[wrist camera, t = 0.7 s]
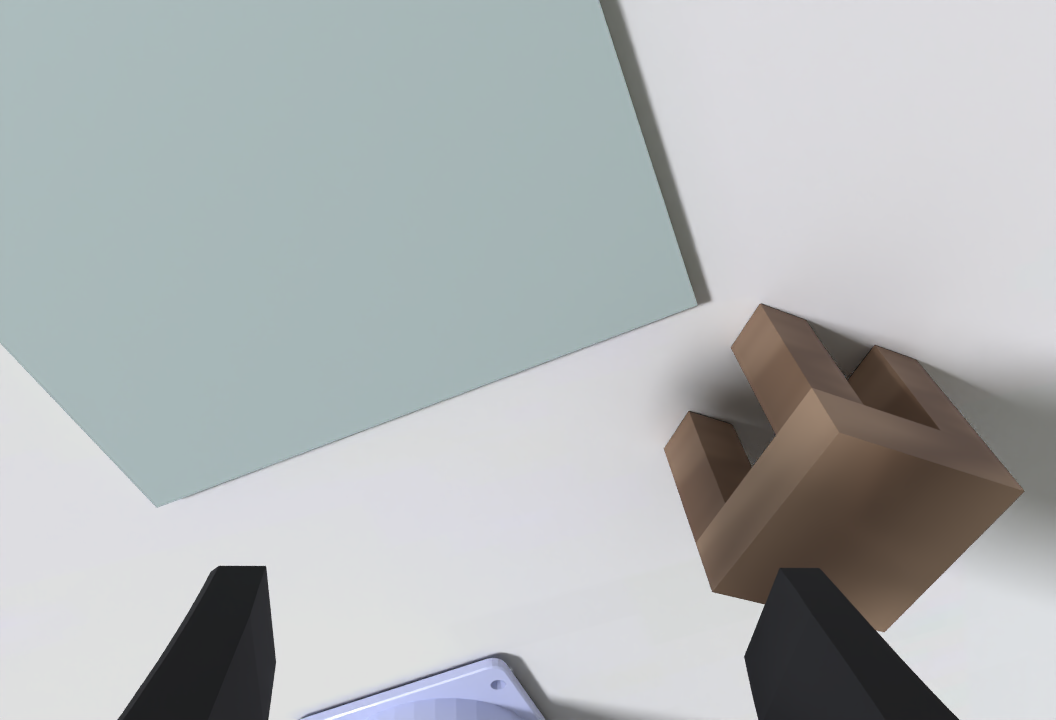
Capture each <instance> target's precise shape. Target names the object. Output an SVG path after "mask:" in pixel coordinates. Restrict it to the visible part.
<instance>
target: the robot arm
mask: <svg viewBox="0 0 1056 720" xmlns="http://www.w3.org/2000/svg"><path fill="white" fill-rule="evenodd" d="M744 658H745V663H746V667H747V672H748V677H749V681H750V686H751V691H752V695H753V700H754V704H755V708H756V712H757V716H758V720H959V719H958V718H957V717H956V716H955V715H954V714H953V713H952V712H951V711H950V710H949V709H948V708H947V707H946V706H945V705H944V704H943V703H942V702H941V700H940V699H939V698H938V697H937V696H936V695H935V694H934V693H933V692H932V691H931V690H930V689H929V688H928V687H927V686H926V685H925V684H924V683H923V682H922V680H921V679H920V678H919V677H918V676H917V675H916V674H915V673H914V672H913V671H912V670H911V669H910V668H909V667H908V665H907V664H906V663H905V662H904V661H903V660H902V659H901V658H900V657H899V656H898V655H897V653H896V652H895V651H894V650H893V649H892V648H891V647H890V646H889V645H888V644H887V642H886V641H885V640H884V639H883V638H882V637H881V636H880V635H879V634H878V632H877V631H876V630H875V629H874V628H873V627H872V626H871V625H870V624H869V622H868V621H867V620H866V619H865V618H864V617H863V616H862V615H861V613H860V612H859V611H858V610H857V609H856V608H855V607H854V606H853V604H852V603H851V602H850V601H849V600H848V599H847V598H846V597H845V595H844V594H843V593H842V592H841V591H840V590H839V589H838V588H837V587H836V585H835V584H834V583H833V582H832V581H831V580H830V579H829V578H828V577H827V576H826V574H825V573H824V572H823V571H822V570H821V569H820V568H779V570H778V573H777V575H776V578H775V580H774V583H773V586H772V588H771V591H770V593H769V596H768V598H767V601H766V603H765V606H764V608H763V611H762V613H761V616H760V618H759V621H758V623H757V626H756V628H755V631H754V633H753V636H752V638H751V641H750V643H749V646H748V648H747V651H746V654H745V656H744ZM275 665H276V658H275V648H274V638H273V629H272V619H271V609H270V599H269V590H268V580H267V570H266V566H218V567H217V568H215V569H214V570H213V571H211V572H210V574H209V576H208V578H207V580H206V582H205V584H204V586H203V587H202V589H201V591H200V593H199V595H198V596H197V598H196V600H195V602H194V603H193V605H192V607H191V609H190V610H189V612H188V614H187V615H186V617H185V619H184V620H183V622H182V624H181V625H180V627H179V628H178V630H177V632H176V633H175V635H174V636H173V638H172V640H171V641H170V643H169V644H168V646H167V647H166V649H165V651H164V652H163V654H162V655H161V657H160V658H159V660H158V662H157V663H156V665H155V666H154V667H153V669H152V670H151V672H150V673H149V675H148V676H147V678H146V679H145V681H144V682H143V684H142V685H141V686H140V688H139V689H138V691H137V692H136V694H135V695H134V697H133V698H132V700H131V701H130V703H129V704H128V706H127V707H126V708H125V710H124V711H123V713H122V714H121V716H120V717H119V718H118V720H268V717H269V710H270V703H271V696H272V688H273V681H274V673H275ZM299 720H545V718H544V717H543V715H542V714H541V713H540V711H539V710H538V708H537V707H536V705H535V704H534V703H533V701H532V700H531V698H530V697H529V695H528V694H527V693H526V691H525V690H524V688H523V687H522V686H521V684H520V683H519V681H518V680H517V678H516V677H515V676H514V674H513V673H512V671H511V670H510V668H509V667H508V666H507V664H506V663H505V662H504V661H503V660H501V659H498V658H488V659H485V660H481V661H478V662H475V663H472V664H469V665H466V666H463V667H460V668H457V669H454V670H451V671H447V672H444V673H441V674H438V675H435V676H432V677H429V678H426V679H423V680H420V681H416V682H413V683H410V684H407V685H404V686H401V687H398V688H395V689H392V690H389V691H386V692H382V693H379V694H376V695H373V696H370V697H367V698H364V699H361V700H358V701H355V702H352V703H348V704H345V705H342V706H339V707H336V708H333V709H330V710H327V711H324V712H321V713H318V714H314V715H311V716H308V717H305V718H302V719H299Z"/></svg>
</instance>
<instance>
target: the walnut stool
mask: <svg viewBox="0 0 1056 720" xmlns="http://www.w3.org/2000/svg"><path fill="white" fill-rule="evenodd" d="M731 349H732V351H733V353H734V355H735V357H736V359H737V360H738V362H739V364H740V366H741V368H742V370H743V372H744V374H745V376H746V378H747V380H748V382H749V384H750V386H751V388H752V390H753V392H754V393H755V395H756V397H757V399H758V401H759V403H760V405H761V407H762V409H763V411H764V413H765V415H766V417H767V419H768V421H769V423H770V425H771V426H772V428H773V430H774V432H775V434H776V436H775V437H774V439H773V440H772V441H771V443H770V444H769V445H768V447H767V448H766V449H765V451H764V452H763V453H762V455H761V456H760V457H759V459H758V460H757V462H756V463H755V464H754V466H753V467H751V464H750V462H749V460H748V458H747V456H746V453H745V451H744V449H743V447H742V445H741V442H740V440H739V438H738V436H737V434H736V431H735V429H734V427H733V425H732V424H729V423H725V422H722V421H719V420H716V419H712V418H709V417H706V416H702V415H699V414H696V413H693V412H688V413H687V415H686V416H685V418H684V419H683V421H682V422H681V424H680V425H679V427H678V428H677V430H676V431H675V433H674V434H673V436H672V437H671V439H670V440H669V442H668V443H667V445H666V446H665V448H664V450H665V453H666V456H667V459H668V462H669V465H670V468H671V471H672V474H673V477H674V480H675V483H676V486H677V489H678V492H679V495H680V498H681V501H682V504H683V507H684V510H685V513H686V516H687V519H688V522H689V525H690V527H691V530H692V533H693V536H694V539H695V542H696V545H697V548H698V551H699V554H700V557H701V560H702V563H703V566H704V569H705V572H706V575H707V578H708V581H709V584H710V587H711V590H712V592H714V593H719V594H723V595H727V596H732V597H736V598H740V599H744V600H749V601H753V602H757V603H761V604H765V603H766V601H767V598H768V596H769V593H770V591H771V588H772V586H773V583H774V580H775V578H776V575H777V573H778V570H779V568H820V569H821V570H822V571H823V572H824V573H825V574H826V576H827V577H828V578H829V579H830V580H831V581H832V582H833V583H834V584H835V585H836V587H837V588H838V589H839V590H840V591H841V592H842V593H843V594H844V595H845V597H846V598H847V599H848V600H849V601H850V602H851V603H852V604H853V606H854V607H855V608H856V609H857V610H858V611H859V612H860V613H861V615H862V616H863V617H864V618H865V619H866V620H867V621H868V622H869V624H870V625H871V626H872V627H873V628H874V629H875V630H877V631H881V632H885V631H886V630H887V629H888V628H889V627H890V626H891V625H892V624H893V623H894V622H895V621H896V620H897V619H898V618H899V617H900V616H901V615H902V614H903V613H904V612H905V611H906V610H907V609H908V608H909V607H910V606H911V605H912V604H913V603H914V602H915V601H916V600H917V599H918V598H919V597H920V596H921V595H922V594H923V593H924V592H925V591H926V590H927V589H928V588H929V587H930V586H931V585H932V584H933V583H934V582H935V581H936V580H937V579H938V578H939V577H940V576H941V575H942V574H943V573H944V572H945V571H946V570H947V569H948V568H949V567H950V566H951V565H952V564H953V563H954V562H955V561H956V560H957V559H958V558H959V557H960V556H961V555H962V554H963V553H964V552H965V551H966V550H967V549H968V548H969V547H970V546H971V545H972V544H973V543H974V542H975V541H976V540H977V539H978V538H979V537H980V536H981V535H982V534H983V533H984V532H985V531H986V530H987V529H988V528H989V527H990V526H991V525H992V524H993V523H994V522H995V521H996V520H997V519H998V518H999V517H1000V516H1001V515H1002V514H1003V513H1004V512H1005V511H1006V510H1007V509H1008V508H1009V507H1010V506H1011V505H1012V504H1013V502H1014V501H1015V500H1016V499H1017V498H1018V497H1019V496H1020V495H1021V494H1022V493H1023V492H1024V490H1023V489H1022V487H1021V486H1020V485H1019V484H1018V483H1017V481H1016V480H1015V479H1014V478H1013V477H1012V475H1011V474H1010V473H1009V472H1008V470H1007V469H1006V468H1005V467H1004V466H1003V464H1002V463H1001V462H1000V461H999V460H998V458H997V457H996V456H995V455H994V453H993V452H992V451H991V450H990V449H989V447H988V446H987V445H986V444H985V443H984V441H983V440H982V439H981V438H980V436H979V435H978V434H977V433H976V432H975V430H974V429H973V428H972V427H971V426H970V424H969V423H968V422H967V421H966V419H965V418H964V417H963V416H962V415H961V413H960V412H959V411H958V410H957V409H956V407H955V406H954V405H953V404H952V402H951V401H950V400H949V399H948V398H947V396H946V395H945V394H944V393H943V392H942V390H941V389H940V388H939V387H938V385H937V384H936V383H935V382H934V381H933V379H932V378H931V377H930V376H929V375H928V373H927V372H926V371H925V370H924V368H923V367H922V366H921V365H920V364H919V362H918V361H917V360H915V359H912V358H909V357H907V356H904V355H901V354H898V353H896V352H893V351H890V350H887V349H885V348H882V347H879V346H876V345H874V347H873V348H872V349H871V351H870V352H869V353H868V355H867V356H866V357H865V358H864V360H863V361H862V362H861V364H860V365H859V366H858V368H857V369H856V370H855V371H854V373H853V374H852V375H851V377H850V378H849V379H848V381H847V380H846V378H845V377H844V375H843V374H842V372H841V371H840V369H839V368H838V366H837V365H836V364H835V362H834V361H833V359H832V358H831V356H830V355H829V353H828V352H827V350H826V349H825V347H824V346H823V344H822V343H821V341H820V340H819V339H818V337H817V336H816V334H815V333H814V331H813V330H812V328H811V327H810V325H809V324H808V322H807V321H806V320H804V319H801V318H799V317H796V316H793V315H790V314H788V313H785V312H782V311H779V310H776V309H774V308H771V307H768V306H765V305H763V304H759V306H758V307H757V309H756V310H755V312H754V313H753V315H752V316H751V318H750V319H749V321H748V322H747V324H746V325H745V327H744V329H743V330H742V332H741V333H740V335H739V336H738V338H737V339H736V341H735V342H734V344H733V345H732V347H731Z"/></svg>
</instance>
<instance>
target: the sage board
mask: <svg viewBox="0 0 1056 720" xmlns="http://www.w3.org/2000/svg"><path fill="white" fill-rule="evenodd" d="M694 306H697V302H696V299H695V296H694V293H693V289H692V286H691V283H690V280H689V277H688V274H687V271H686V268H685V265H684V262H683V259H682V255H681V252H680V249H679V246H678V243H677V240H676V237H675V234H674V231H673V228H672V224H671V221H670V218H669V215H668V212H667V209H666V206H665V203H664V200H663V197H662V194H661V190H660V187H659V184H658V181H657V178H656V175H655V172H654V169H653V166H652V163H651V159H650V156H649V153H648V150H647V147H646V144H645V141H644V138H643V135H642V132H641V129H640V125H639V122H638V119H637V116H636V113H635V110H634V107H633V104H632V101H631V98H630V95H629V91H628V88H627V85H626V82H625V79H624V76H623V73H622V70H621V67H620V64H619V60H618V57H617V54H616V51H615V48H614V45H613V42H612V39H611V36H610V33H609V30H608V26H607V23H606V20H605V17H604V14H603V11H602V8H601V5H600V2H599V0H0V343H1V344H2V345H3V347H4V348H5V349H6V350H7V351H8V352H9V353H10V354H11V355H12V356H13V357H14V358H15V359H16V360H17V361H18V362H19V363H20V364H21V365H22V366H23V368H24V369H25V370H26V371H27V372H28V373H29V374H30V375H31V376H32V377H33V378H34V379H35V380H36V381H37V382H38V383H39V384H40V385H41V386H42V388H43V389H44V390H45V391H46V392H47V393H48V394H49V395H50V396H51V397H52V398H53V399H54V400H55V401H56V402H57V403H58V404H59V405H60V406H61V408H62V409H63V410H64V411H65V412H66V413H67V414H68V415H69V416H70V417H71V418H72V419H73V420H74V421H75V422H76V423H77V424H78V425H79V426H80V428H81V429H82V430H83V431H84V432H85V433H86V434H87V435H88V436H89V437H90V438H91V439H92V440H93V441H94V442H95V443H96V444H97V445H98V446H99V447H100V449H101V450H102V451H103V452H104V453H105V454H106V455H107V456H108V457H109V458H110V459H111V460H112V461H113V462H114V463H115V464H116V465H117V466H118V467H119V469H120V470H121V471H122V472H123V473H124V474H125V475H126V476H127V477H128V478H129V479H130V480H131V481H132V482H133V483H134V484H135V485H136V486H137V487H138V489H139V490H140V491H141V492H142V493H143V494H144V495H145V496H146V497H147V498H148V499H149V500H150V501H151V502H152V503H153V504H154V505H155V506H156V507H157V508H158V507H160V506H163V505H166V504H168V503H171V502H174V501H176V500H179V499H182V498H184V497H187V496H190V495H192V494H195V493H198V492H200V491H203V490H206V489H208V488H211V487H214V486H216V485H219V484H222V483H224V482H227V481H230V480H232V479H235V478H238V477H240V476H243V475H246V474H248V473H251V472H254V471H256V470H259V469H262V468H264V467H267V466H270V465H272V464H275V463H278V462H280V461H283V460H286V459H288V458H291V457H294V456H296V455H299V454H302V453H304V452H307V451H310V450H312V449H315V448H318V447H320V446H323V445H326V444H328V443H331V442H334V441H336V440H339V439H342V438H345V437H347V436H350V435H353V434H355V433H358V432H361V431H363V430H366V429H369V428H371V427H374V426H377V425H379V424H382V423H385V422H387V421H390V420H393V419H395V418H398V417H401V416H403V415H406V414H409V413H411V412H414V411H417V410H419V409H422V408H425V407H427V406H430V405H433V404H435V403H438V402H441V401H443V400H446V399H449V398H451V397H454V396H457V395H459V394H462V393H465V392H467V391H470V390H473V389H475V388H478V387H481V386H483V385H486V384H489V383H491V382H494V381H497V380H499V379H502V378H505V377H507V376H510V375H513V374H515V373H518V372H521V371H523V370H526V369H529V368H531V367H534V366H537V365H539V364H542V363H545V362H547V361H550V360H553V359H556V358H558V357H561V356H564V355H566V354H569V353H572V352H574V351H577V350H580V349H582V348H585V347H588V346H590V345H593V344H596V343H598V342H601V341H604V340H606V339H609V338H612V337H614V336H617V335H620V334H622V333H625V332H628V331H630V330H633V329H636V328H638V327H641V326H644V325H646V324H649V323H652V322H654V321H657V320H660V319H662V318H665V317H668V316H670V315H673V314H676V313H678V312H681V311H684V310H686V309H689V308H692V307H694Z"/></svg>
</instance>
